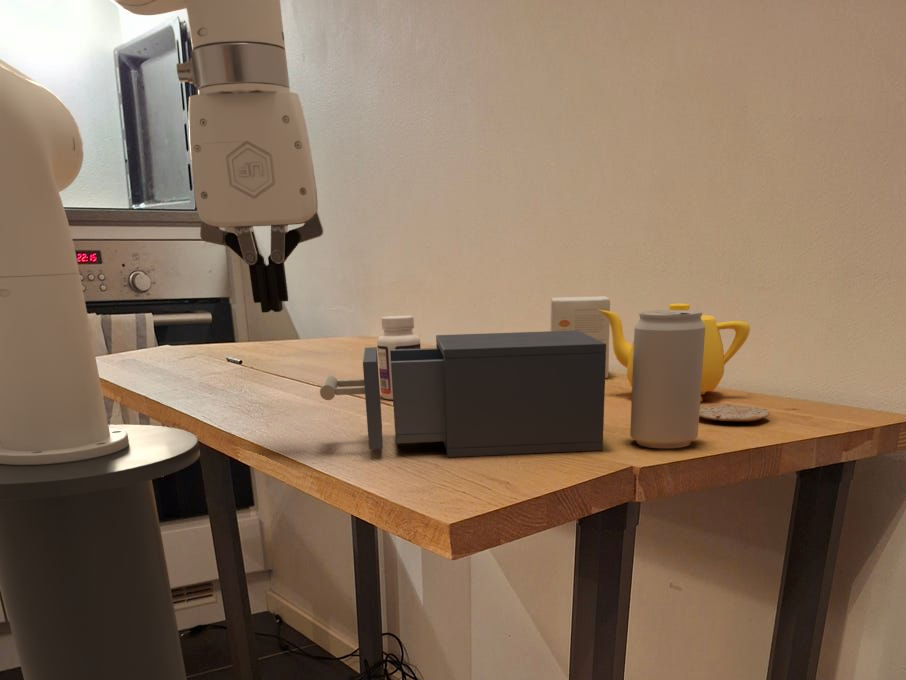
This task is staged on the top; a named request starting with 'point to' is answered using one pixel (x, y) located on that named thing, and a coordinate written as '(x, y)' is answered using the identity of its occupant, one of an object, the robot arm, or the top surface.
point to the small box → (582, 318)
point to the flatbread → (733, 412)
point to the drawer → (401, 395)
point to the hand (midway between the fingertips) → (272, 310)
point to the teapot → (712, 346)
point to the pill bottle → (394, 347)
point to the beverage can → (667, 378)
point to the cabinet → (523, 392)
